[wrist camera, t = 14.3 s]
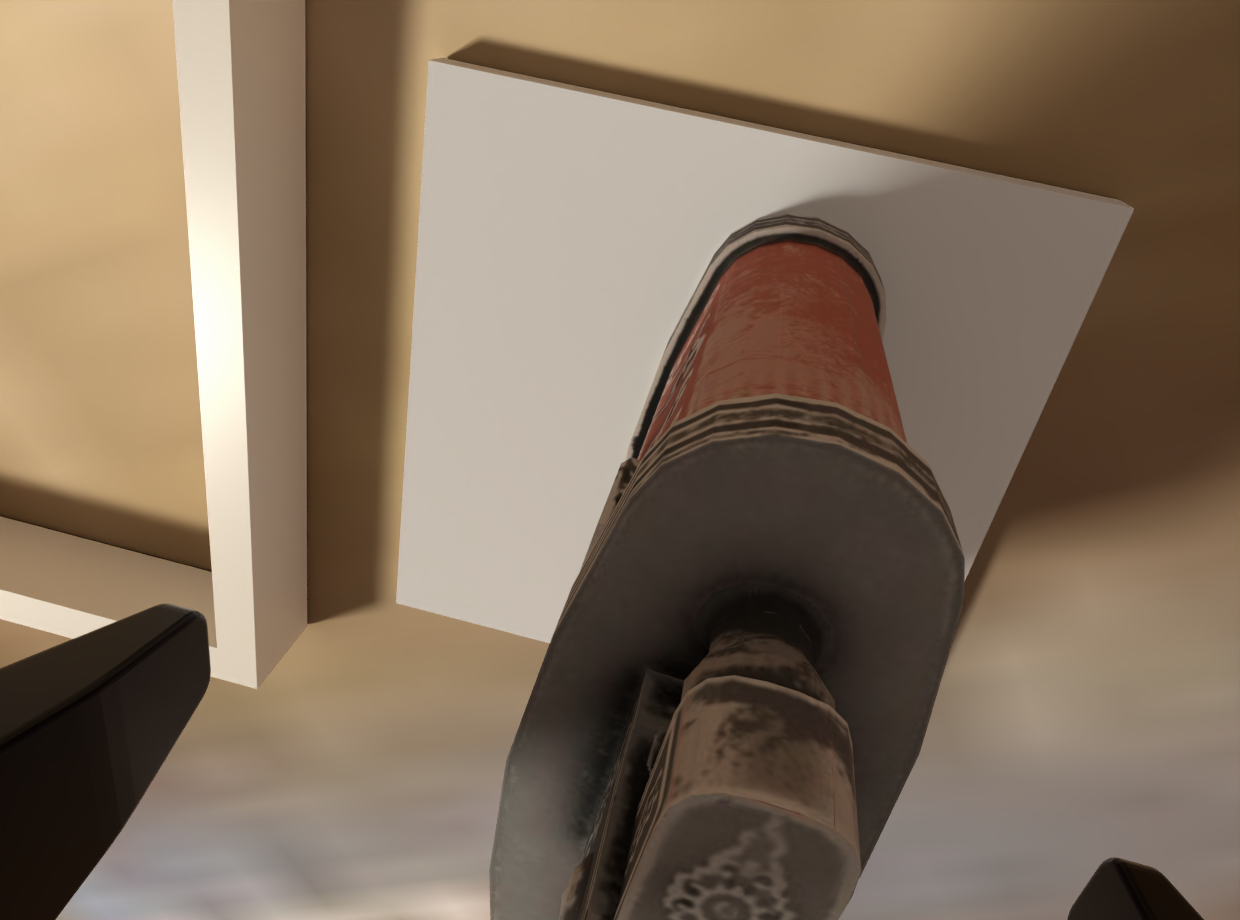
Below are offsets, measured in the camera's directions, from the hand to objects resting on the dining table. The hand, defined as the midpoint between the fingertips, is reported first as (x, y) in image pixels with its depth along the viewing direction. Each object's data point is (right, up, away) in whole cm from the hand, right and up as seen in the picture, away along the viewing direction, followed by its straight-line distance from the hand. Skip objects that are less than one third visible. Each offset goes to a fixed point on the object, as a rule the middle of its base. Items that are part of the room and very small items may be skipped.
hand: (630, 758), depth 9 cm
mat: (+1, +3, +7) cm, 8 cm away
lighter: (+2, +3, +6) cm, 7 cm away
